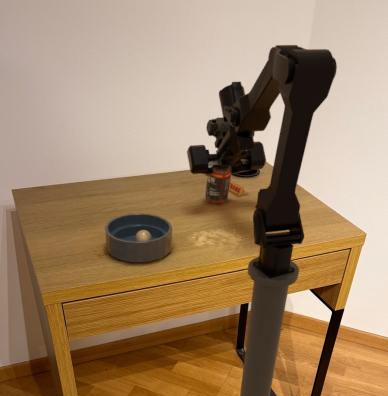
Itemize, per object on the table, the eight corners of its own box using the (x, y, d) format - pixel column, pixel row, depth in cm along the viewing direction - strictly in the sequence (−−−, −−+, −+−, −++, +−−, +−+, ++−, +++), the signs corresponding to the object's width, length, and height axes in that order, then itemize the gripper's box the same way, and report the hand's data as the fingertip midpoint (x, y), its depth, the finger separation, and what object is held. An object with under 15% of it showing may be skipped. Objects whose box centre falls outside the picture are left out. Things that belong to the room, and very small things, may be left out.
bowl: (183, 255, 106) (183, 234, 103) (121, 270, 101) (120, 248, 98) (155, 229, 116) (154, 209, 113) (97, 241, 111) (95, 220, 107)
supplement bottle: (227, 194, 132) (234, 153, 124) (226, 205, 128) (233, 164, 120) (205, 191, 132) (210, 150, 124) (203, 202, 128) (209, 161, 120)
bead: (156, 235, 106) (142, 234, 104) (151, 250, 108) (138, 249, 106) (148, 227, 108) (134, 226, 106) (144, 241, 110) (130, 241, 108)
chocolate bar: (221, 179, 142) (221, 172, 141) (246, 194, 134) (247, 186, 133) (213, 181, 141) (214, 173, 140) (238, 195, 133) (239, 187, 132)
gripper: (267, 106, 114) (246, 141, 129) (189, 109, 110) (177, 146, 125) (276, 151, 113) (253, 182, 128) (198, 156, 109) (184, 187, 124)
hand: (217, 173), depth 126 cm, fingers closed on supplement bottle, 6 cm apart
